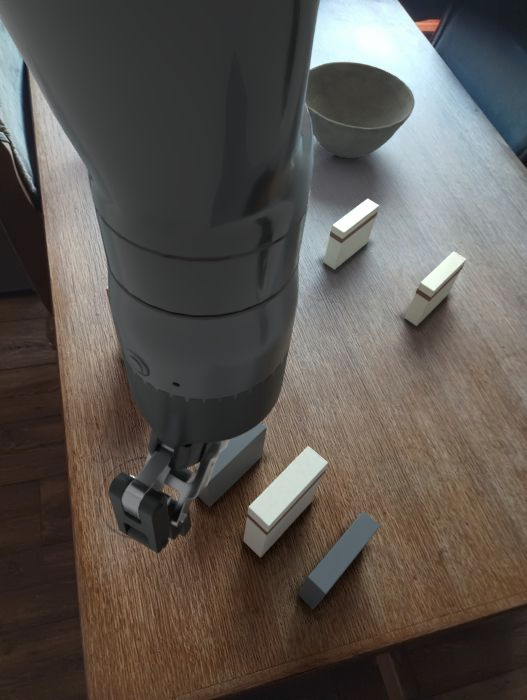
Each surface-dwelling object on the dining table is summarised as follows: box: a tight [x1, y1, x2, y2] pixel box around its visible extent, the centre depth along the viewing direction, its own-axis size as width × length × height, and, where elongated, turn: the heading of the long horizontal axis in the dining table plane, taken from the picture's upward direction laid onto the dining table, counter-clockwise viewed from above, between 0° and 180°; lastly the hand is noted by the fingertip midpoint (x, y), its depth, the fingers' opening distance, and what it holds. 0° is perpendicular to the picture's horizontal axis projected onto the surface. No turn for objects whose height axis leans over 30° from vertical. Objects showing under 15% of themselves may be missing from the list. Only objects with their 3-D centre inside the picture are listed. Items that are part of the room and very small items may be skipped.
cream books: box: [323, 198, 467, 327], centre depth 74 cm, size 16×8×7 cm, turn 47°
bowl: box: [305, 61, 416, 159], centre depth 90 cm, size 19×19×10 cm
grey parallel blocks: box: [194, 422, 381, 610], centre depth 53 cm, size 16×8×7 cm, turn 47°
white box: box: [243, 445, 329, 558], centre depth 52 cm, size 2×8×10 cm, turn 137°
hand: (209, 469), depth 37 cm, fingers open, 8 cm apart
